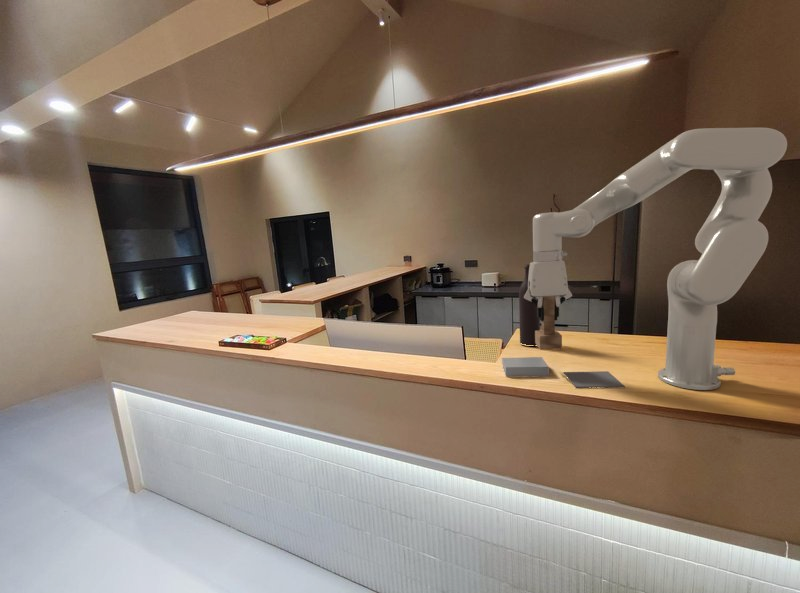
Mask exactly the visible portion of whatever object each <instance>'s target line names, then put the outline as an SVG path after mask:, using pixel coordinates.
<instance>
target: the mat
mask: <svg viewBox="0 0 800 593" xmlns="http://www.w3.org/2000/svg"><path fill="white" fill-rule="evenodd" d="M563 374H564V375H565V377H566V378H567V377H568V378H567V379H568V380H569V382H572V383H571V384H572V386H574V388H575V387H576V388H575V389H593V388H592V387H596V388H595V389H598V388H597V387H625V388H626V386H625V385H624V384H623V383H622V382H621V381H620V380H619V379H617V378H616V377H615V376H614V375H613V374H612V373H611V372H610V371H608V370H607V371H606V370H605V371H603V370H602V371H599V370H598V371H564V372H563ZM589 387H591V388H589Z"/></svg>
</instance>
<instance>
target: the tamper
mask: <svg viewBox="0 0 800 593" xmlns="http://www.w3.org/2000/svg"><path fill="white" fill-rule="evenodd" d="M542 305H543V308H544V320H543V321H541V320H540V330H538V331H535V344H536V345H537V346H536V347H538V349H539V350H563V335H562V334H561V333H560V332H559V331H557V329H556V320H555V316H554V308H555V296H552V297H543V300H542Z"/></svg>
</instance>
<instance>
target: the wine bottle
mask: <svg viewBox="0 0 800 593" xmlns="http://www.w3.org/2000/svg"><path fill="white" fill-rule="evenodd" d="M529 267H530V263H527V264H525V265H524V270H525V274H524V279H523V281H522V283H521V285H520V286H519V291H518V293H519V294H518V300H519V301H518V305H519V306H518V308H519V309H518V310H519V343H522V344H526V345H536V344H535V331H538V330H541V320H540V319H539V318H538V317H537V306H536V305H535V304H534V303H533V302H531V301H529V300H527V299H525V298H524V295H525V293H526V292H527V290H528V275H529ZM530 296H531V297H533V298H535V299H536V297H534V296H532V295H530Z"/></svg>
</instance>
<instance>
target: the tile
mask: <svg viewBox="0 0 800 593" xmlns="http://www.w3.org/2000/svg"><path fill="white" fill-rule="evenodd" d="M501 359H502V360H501V361H502V362H501V363H502V365H503V367H502V369H504V370H503V372H505V373H504V375H505V377H506V376H542V377H549V376H550V374H549V372H550V368H549V365H548V364H547V362H546V361H545V359H544V358H543V356H533V357H532V356H531V357H530V356H525V357H523V356H522V357H502V358H501Z"/></svg>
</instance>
